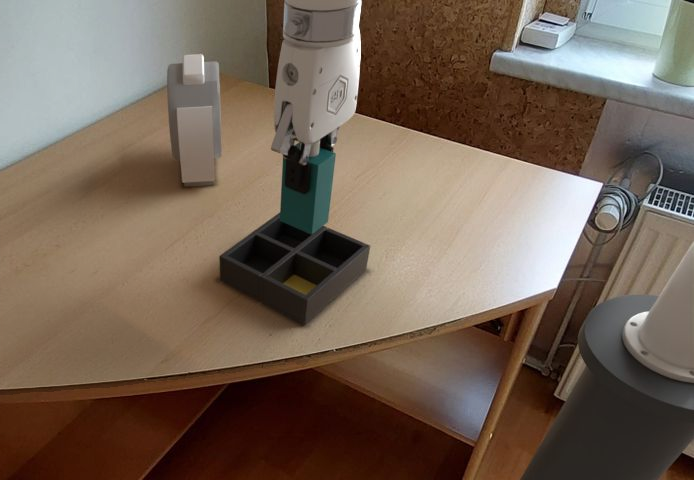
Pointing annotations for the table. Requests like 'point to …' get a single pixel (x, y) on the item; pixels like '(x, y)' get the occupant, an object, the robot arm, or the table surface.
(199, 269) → the table surface
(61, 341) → the table surface
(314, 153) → the detergent bottle
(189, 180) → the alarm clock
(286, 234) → the tray
